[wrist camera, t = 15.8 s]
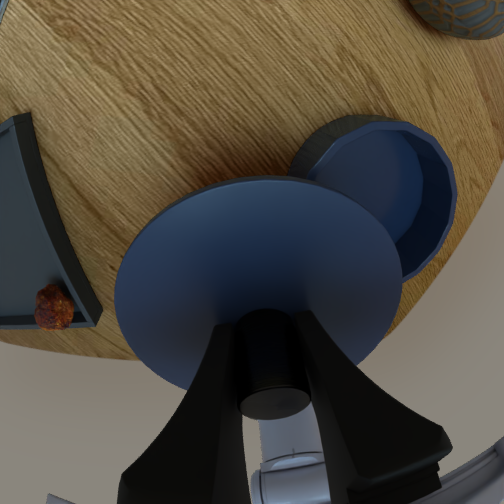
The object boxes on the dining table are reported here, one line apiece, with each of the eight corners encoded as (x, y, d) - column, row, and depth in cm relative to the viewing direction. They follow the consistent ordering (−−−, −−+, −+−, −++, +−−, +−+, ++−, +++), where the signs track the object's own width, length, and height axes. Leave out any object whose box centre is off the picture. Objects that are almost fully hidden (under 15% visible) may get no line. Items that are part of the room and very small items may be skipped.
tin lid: (372, 363, 15) (397, 426, 11) (174, 393, 15) (168, 461, 11) (403, 155, 9) (492, 203, 5) (78, 208, 9) (8, 282, 5)
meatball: (85, 307, 21) (69, 341, 17) (56, 308, 21) (38, 340, 17) (68, 272, 19) (46, 305, 15) (38, 276, 19) (16, 306, 15)
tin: (416, 251, 21) (440, 277, 18) (290, 273, 21) (300, 308, 18) (427, 116, 15) (462, 126, 12) (274, 119, 15) (286, 125, 12)
